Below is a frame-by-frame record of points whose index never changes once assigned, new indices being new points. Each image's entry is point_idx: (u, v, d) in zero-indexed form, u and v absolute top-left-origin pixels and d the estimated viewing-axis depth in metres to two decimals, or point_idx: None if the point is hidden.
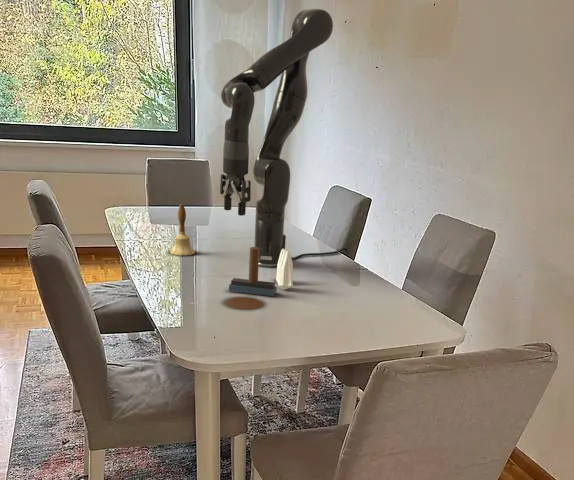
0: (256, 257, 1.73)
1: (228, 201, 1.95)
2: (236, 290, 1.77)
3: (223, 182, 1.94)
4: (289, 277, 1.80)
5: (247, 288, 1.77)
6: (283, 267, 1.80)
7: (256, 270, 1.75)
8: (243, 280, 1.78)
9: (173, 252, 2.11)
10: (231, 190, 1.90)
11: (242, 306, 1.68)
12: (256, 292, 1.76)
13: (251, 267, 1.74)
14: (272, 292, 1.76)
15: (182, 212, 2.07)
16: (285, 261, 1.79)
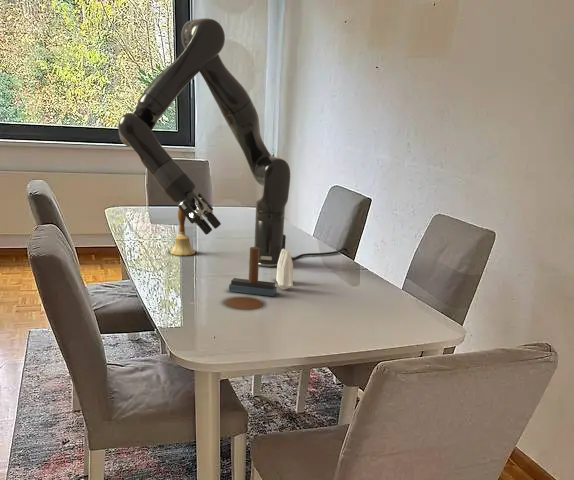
0: (256, 257, 1.73)
1: (211, 219, 1.76)
2: (236, 290, 1.77)
3: None
4: (289, 277, 1.80)
5: (247, 288, 1.77)
6: (283, 267, 1.80)
7: (256, 270, 1.75)
8: (243, 280, 1.78)
9: (173, 252, 2.11)
10: None
11: (242, 306, 1.68)
12: (256, 292, 1.76)
13: (251, 267, 1.74)
14: (272, 292, 1.76)
15: (182, 212, 2.07)
16: (285, 261, 1.79)
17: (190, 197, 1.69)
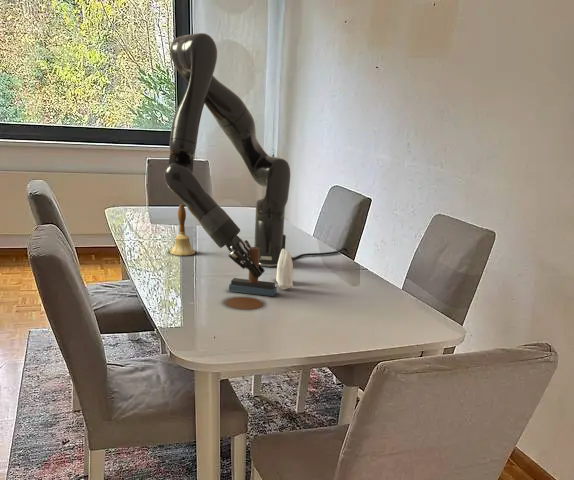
0: (256, 257, 1.73)
1: None
2: (236, 290, 1.77)
3: None
4: (289, 277, 1.80)
5: (247, 288, 1.77)
6: (283, 267, 1.80)
7: None
8: (243, 280, 1.78)
9: (173, 252, 2.11)
10: None
11: (242, 306, 1.68)
12: (256, 292, 1.76)
13: None
14: (272, 292, 1.76)
15: (182, 212, 2.07)
16: (285, 261, 1.79)
17: (235, 241, 1.72)
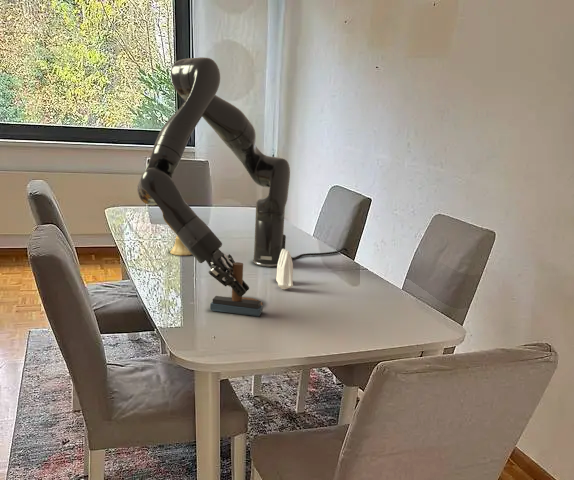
0: (240, 273, 1.58)
1: None
2: (218, 309, 1.62)
3: None
4: (289, 277, 1.80)
5: (230, 307, 1.61)
6: (283, 267, 1.80)
7: None
8: (226, 298, 1.62)
9: (173, 252, 2.11)
10: None
11: None
12: (240, 312, 1.61)
13: None
14: (257, 312, 1.60)
15: None
16: (285, 261, 1.79)
17: (217, 256, 1.57)
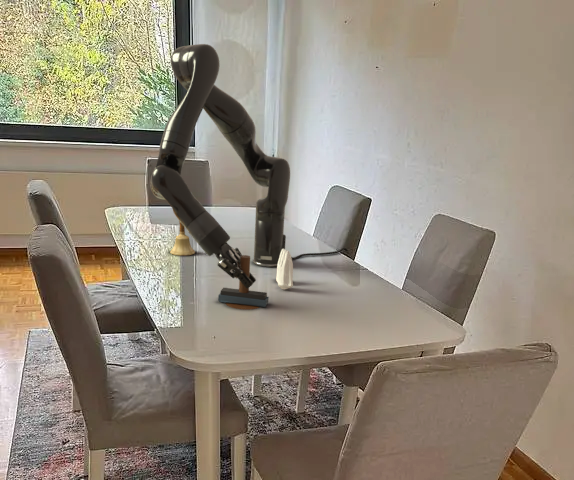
0: (247, 266, 1.64)
1: None
2: (226, 300, 1.68)
3: None
4: (289, 277, 1.80)
5: (237, 298, 1.68)
6: (283, 267, 1.80)
7: None
8: (233, 290, 1.69)
9: (173, 252, 2.11)
10: None
11: (242, 306, 1.68)
12: (247, 303, 1.68)
13: None
14: (264, 303, 1.67)
15: None
16: (285, 261, 1.79)
17: (225, 249, 1.63)
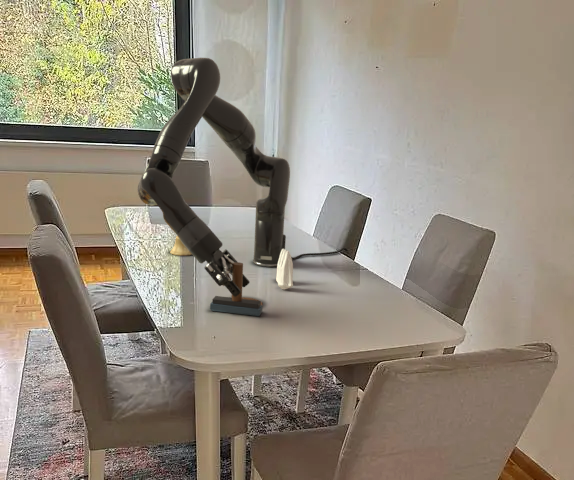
0: (239, 273, 1.58)
1: None
2: (218, 309, 1.62)
3: None
4: (289, 277, 1.80)
5: (230, 307, 1.61)
6: (283, 267, 1.80)
7: (240, 288, 1.59)
8: (226, 298, 1.62)
9: (173, 252, 2.11)
10: None
11: None
12: (240, 311, 1.61)
13: None
14: (257, 311, 1.60)
15: None
16: (285, 261, 1.79)
17: (217, 256, 1.57)
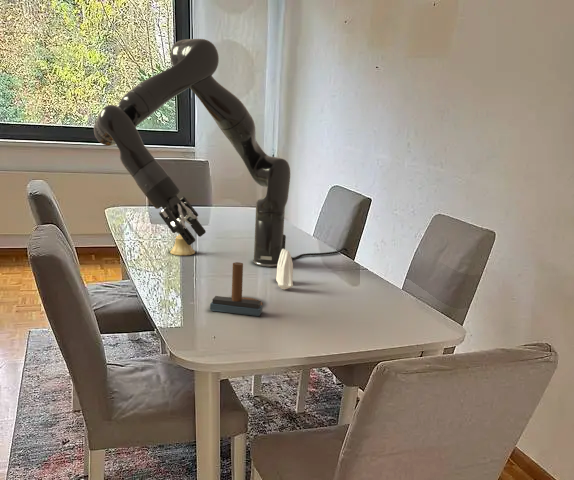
0: (239, 273, 1.58)
1: (195, 226, 1.62)
2: (218, 309, 1.62)
3: None
4: (289, 277, 1.80)
5: (230, 307, 1.61)
6: (283, 267, 1.80)
7: (240, 288, 1.59)
8: (226, 298, 1.62)
9: (173, 252, 2.11)
10: None
11: None
12: (240, 311, 1.61)
13: (234, 284, 1.59)
14: (257, 311, 1.60)
15: None
16: (285, 261, 1.79)
17: (173, 202, 1.55)
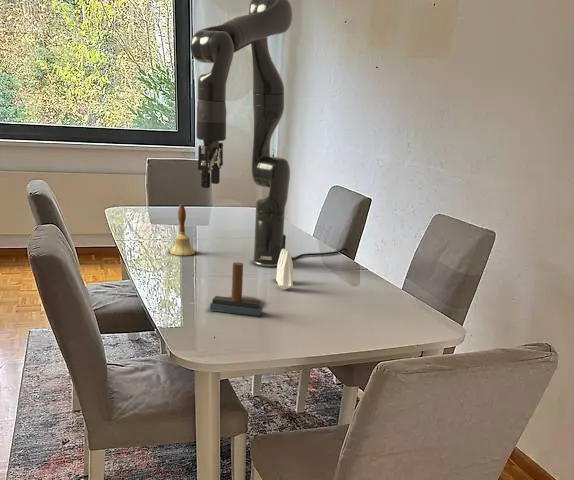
0: (240, 273, 1.58)
1: (214, 173, 1.71)
2: (218, 309, 1.62)
3: None
4: (289, 277, 1.80)
5: (230, 307, 1.61)
6: (283, 267, 1.80)
7: (240, 288, 1.59)
8: (226, 298, 1.62)
9: (173, 252, 2.11)
10: None
11: None
12: (240, 311, 1.61)
13: (234, 284, 1.59)
14: (257, 311, 1.60)
15: (182, 212, 2.07)
16: (285, 261, 1.79)
17: (214, 145, 1.63)
